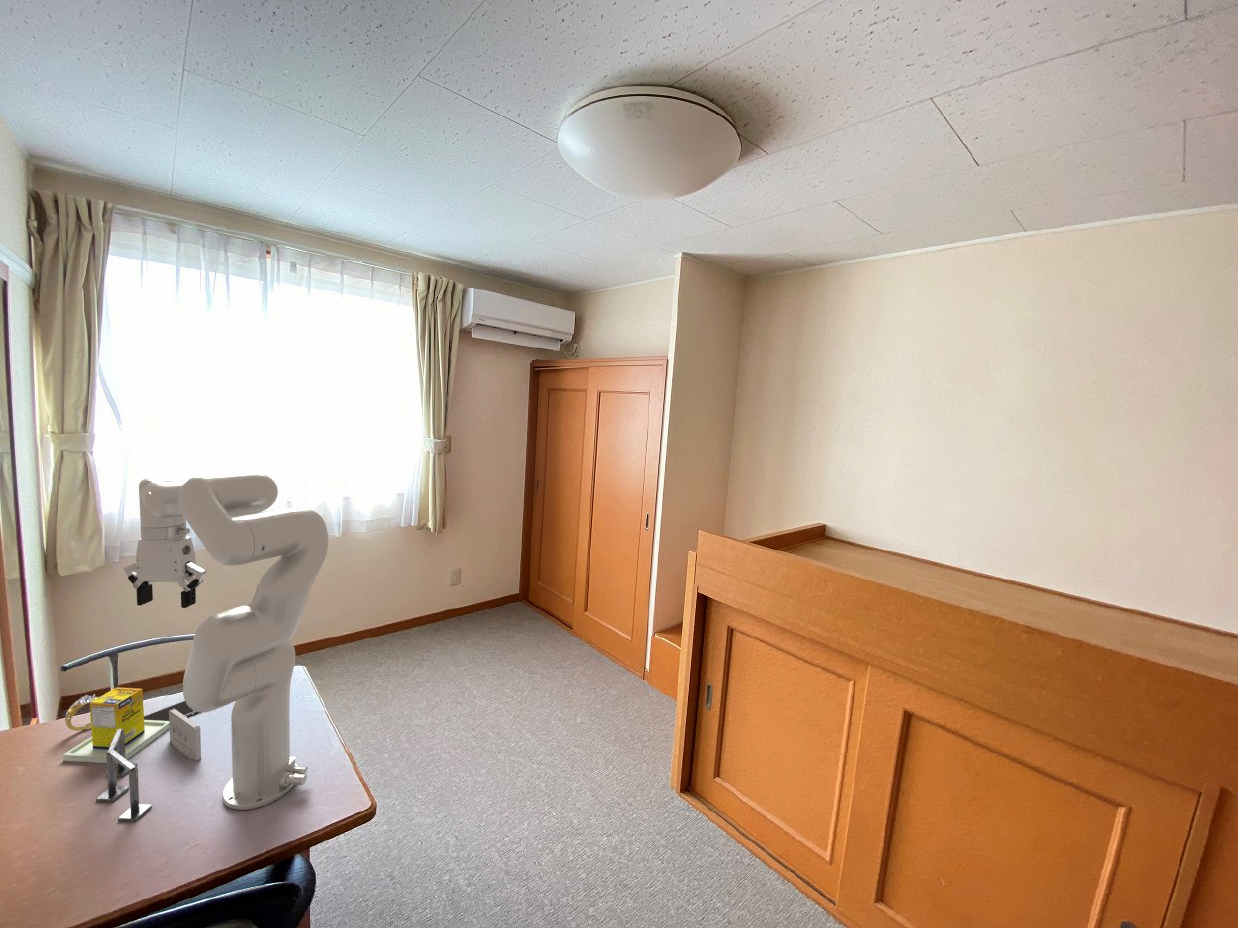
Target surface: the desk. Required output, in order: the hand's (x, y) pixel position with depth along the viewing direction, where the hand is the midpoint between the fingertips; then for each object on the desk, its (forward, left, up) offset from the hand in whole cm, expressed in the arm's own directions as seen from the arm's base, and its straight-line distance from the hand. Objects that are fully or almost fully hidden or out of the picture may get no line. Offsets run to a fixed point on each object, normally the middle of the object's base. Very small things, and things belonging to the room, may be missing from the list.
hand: (166, 604), depth 112 cm
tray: (+6, +6, -30) cm, 31 cm away
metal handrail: (-8, +19, -30) cm, 37 cm away
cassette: (-9, +7, -31) cm, 33 cm away
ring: (+17, +2, -31) cm, 35 cm away
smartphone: (+3, -4, -31) cm, 31 cm away
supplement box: (+6, +6, -30) cm, 31 cm away
